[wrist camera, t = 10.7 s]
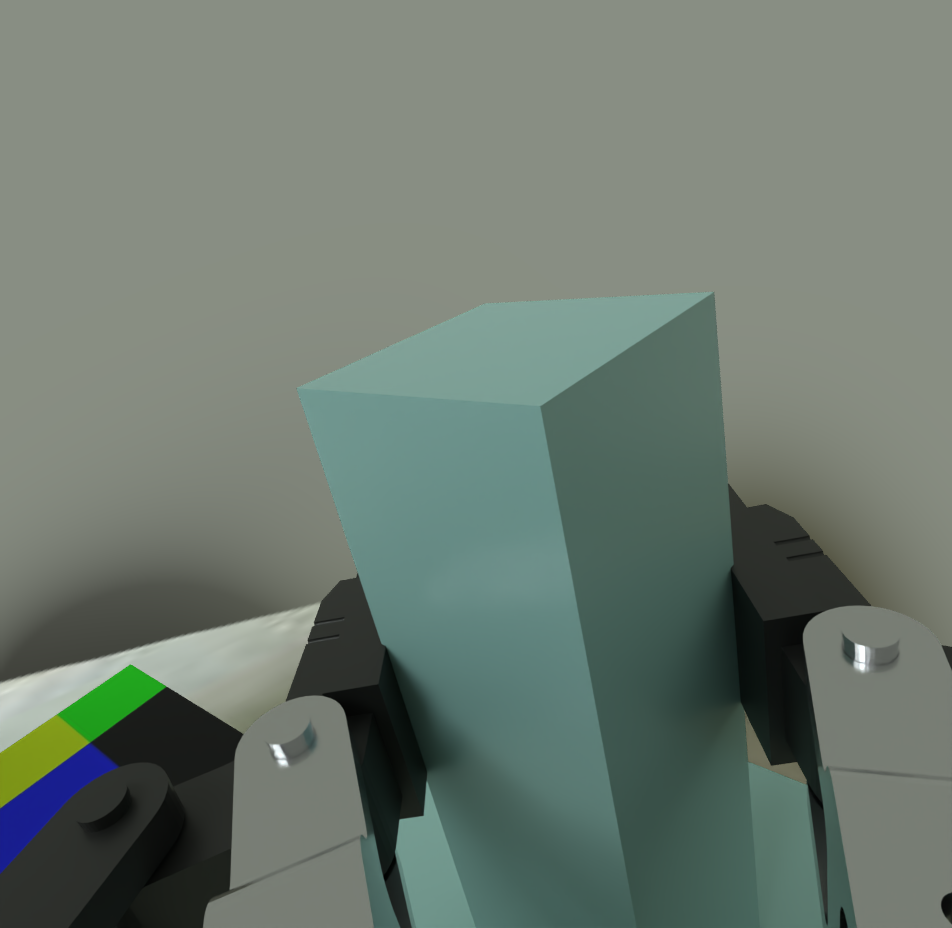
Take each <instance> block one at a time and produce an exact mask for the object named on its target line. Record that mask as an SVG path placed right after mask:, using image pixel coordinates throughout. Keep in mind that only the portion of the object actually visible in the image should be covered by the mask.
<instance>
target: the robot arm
mask: <svg viewBox="0 0 952 928" xmlns="http://www.w3.org/2000/svg"><path fill="white" fill-rule="evenodd" d="M728 491H729V505H730V519H731V533H732V547H733V561H734V565H733V566H732V567H731V578H732V591H733V605H734V618H735V632H736V645H737V659H738V672H739V686H740V699H741V704H742V706H743V708H744V710H745V712H746V714H747V716H748V718H749V721H750V723H751V725H752V727H753V729H754V731H755V733H756V735H757V737H758V739H759V741H760V743H761V745H762V747H763V749H764V752H765V754H766V756H767V758H768V760H769V762H770V764H771V766H772V765H779V764H786V763H792V762H798V764H799V766H800V768H801V770H802V772H803V774H804V776H805V777H806V779H807V806H808V814H809V822H810V830H811V838H812V846H813V854H814V862H815V870H816V878H817V885H818V893H819V901H820V909H821V917H822V925H823V928H952V647H948V646H943V645H941V644H940V642H939V640H938V639H937V637H936V636H935V635H934V634H933V633H932V631H930V630H929V629H928V628H927V627H925V626H924V625H923V624H921V623H919V622H918V621H916V620H915V619H913V618H910V617H908V616H906V615H904V614H901V613H898V612H895V611H892V610H888V609H884V608H879V607H872V606H871V605H870V604H869V603H868V601H867V600H866V599H865V598H864V597H863V596H862V595H861V594H860V592H859V591H858V590H857V589H856V588H855V587H854V586H853V584H852V583H851V582H850V581H849V580H848V579H847V578H846V577H845V575H844V574H843V573H842V572H841V571H840V570H839V569H838V567H837V566H836V565H835V564H834V563H833V562H832V561H831V560H830V558H828V556H827V555H824V554H823V551H822V549H821V548H820V547H819V546H818V545H817V544H816V543H815V542H814V541H813V540H810V537H809V535H808V534H807V532H806V531H805V530H804V529H803V528H802V527H801V526H800V524H799V523H798V522H797V521H796V520H795V519H794V518H793V517H791V516H789V515H787V514H785V513H783V512H781V511H779V510H777V509H775V508H773V507H771V506H769V505H767V504H764V505H759V506H753V507H748V508H747V507H746V506H745V504H744V503H743V502H742V500H741V499H740V498H739V497H738V495H737V494H736V493H735V491H734V490H733V489H732V488H731V486H730V485H729V484H728ZM314 625H315V626H313V627H312V629H311V632H310V635H309V638H308V644H306V646H305V649H304V652H303V654H302V657H301V660H300V663H299V666H298V668H297V671H296V674H295V677H294V680H293V682H292V685H291V688H290V691H289V694H288V696H287V699H286V702H284V703H282V704H280V705H278V706H276V707H274V708H272V709H271V710H269V711H268V712H266V713H265V714H263V715H262V716H261V717H260V718H258V719H257V720H256V721H255V722H254V723H253V724H252V725H251V726H250V727H249V728H248V729H247V731H246V732H245V733H244V735H243V736H242V738H241V740H240V742H239V743H238V746H237V749H236V753H235V760H234V761H232V762H230V763H228V764H226V765H224V766H222V767H219V768H217V769H215V770H212V771H210V772H207V773H205V774H202V775H200V776H198V777H195V778H193V779H190V780H188V781H186V782H183V783H181V784H178V785H176V786H174V787H173V786H172V784H171V782H170V780H169V778H168V776H167V774H166V773H165V771H164V770H163V769H162V768H161V767H160V766H158V765H156V764H152V763H133V764H128V765H125V766H121V767H119V768H116V769H113V770H111V771H109V772H107V773H105V774H103V775H101V776H99V777H98V778H96V779H94V780H93V781H91V782H90V783H88V784H87V785H85V786H84V787H83V788H81V789H80V790H79V791H78V792H77V793H75V794H74V795H73V796H72V797H71V798H70V799H69V800H68V801H67V802H66V803H65V804H64V805H63V806H62V807H61V808H60V809H59V810H58V811H57V812H56V814H55V815H54V816H53V817H52V818H51V819H50V820H49V821H48V822H47V823H46V825H45V826H44V827H43V828H42V829H41V830H40V831H39V832H38V833H37V834H36V835H35V837H34V838H33V839H32V840H31V841H30V842H29V843H28V844H27V845H26V846H25V847H24V849H23V850H22V851H21V852H20V853H19V854H18V855H17V856H16V857H15V858H14V859H13V861H12V862H11V863H10V864H9V865H8V866H7V867H6V868H5V869H4V870H3V872H2V873H1V874H0V928H416V925H415V921H414V916H413V912H412V908H411V903H410V899H409V895H408V890H407V886H406V881H405V877H404V873H403V868H402V864H401V861H400V858H399V855H398V852H397V850H396V844H397V836H398V828H399V820H400V819H406V818H413V817H420V816H424V807H425V795H426V783H427V770H426V767H425V763H424V760H423V757H422V754H421V751H420V748H419V745H418V742H417V739H416V736H415V733H414V730H413V727H412V724H411V721H410V718H409V715H408V712H407V709H406V706H405V703H404V700H403V697H402V694H401V691H400V688H399V685H398V682H397V679H396V676H395V673H394V670H393V666H392V663H391V660H390V657H389V654H388V651H387V648H386V646H385V645H383V644H381V641H380V638H379V635H378V632H377V629H376V626H375V623H374V620H373V617H372V614H371V611H370V608H369V605H368V602H367V599H366V596H365V593H364V590H363V587H362V584H361V581H360V578H359V575H358V574H357V577H356V578H353V579H348V580H342V581H340V582H339V583H338V584H337V585H336V586H335V587H334V588H333V589H332V590H331V592H330V593H329V594H328V595H327V596H326V597H325V598H324V599H323V600H322V602H321V604H320V607H319V610H318V613H317V615H316V618H315V621H314Z"/></svg>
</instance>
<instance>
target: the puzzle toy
mask: <svg viewBox="0 0 952 928" xmlns="http://www.w3.org/2000/svg"><path fill="white" fill-rule="evenodd" d="M243 735H244V734H242V733H241V732H239V731H238V730H236V729H234V728H233V727H231V726H229V725H228V724H226V723H225V722H223V721H221V720H220V719H218V718H217V717H215V716H213V715H212V714H210V713H208V712H207V711H205V710H204V709H202V708H200V707H199V706H197V705H196V704H194V703H192V702H191V701H189V700H187V699H186V698H184V697H183V696H181V695H179V694H178V693H176V692H175V691H173V690H171V689H170V688H168V687H166V686H165V685H163V684H162V683H160V682H158V681H157V680H155V679H154V678H152V677H150V676H149V675H147V674H145V673H144V672H142V671H141V670H139V669H137V668H136V667H134V666H133V665H129V666H128V667H126V668H125V669H123V670H122V671H120V672H119V673H117V674H116V675H114V676H113V677H111V678H110V679H108V680H107V681H105V682H104V683H103V684H101V685H100V686H98V687H97V688H95V689H94V690H92V691H91V692H89V693H88V694H86V695H85V696H83V697H82V698H80V699H79V700H78V701H76V702H75V703H73V704H72V705H70V706H69V707H67V708H66V709H64V710H63V711H61V712H60V713H58V714H57V715H55V716H54V717H53V718H51V719H50V720H48V721H47V722H45V723H44V724H42V725H41V726H39V727H38V728H36V729H35V730H33V731H32V732H30V733H29V734H27V735H26V736H25V737H23V738H22V739H20V740H19V741H17V742H16V743H14V744H13V745H11V746H10V747H8V748H7V749H5V750H4V751H2V752H1V753H0V874H1V873H2V872H3V870H4V869H5V868H6V867H7V866H8V865H9V864H10V863H11V862H12V861H13V859H14V858H15V857H16V856H17V855H18V854H19V853H20V852H21V851H22V850H23V849H24V847H25V846H26V845H27V844H28V843H29V842H30V841H31V840H32V839H33V838H34V837H35V835H36V834H37V833H38V832H39V831H40V830H41V829H42V828H43V827H44V826H45V825H46V823H47V822H48V821H49V820H50V819H51V818H52V817H53V816H54V815H55V814H56V812H57V811H58V810H59V809H60V808H61V807H62V806H63V805H64V804H65V803H66V802H67V801H68V800H69V799H70V798H71V797H72V796H73V795H74V794H75V793H77V792H78V791H79V790H80V789H81V788H83V787H84V786H85V785H87V784H88V783H90V782H91V781H93V780H94V779H96V778H98V777H99V776H101V775H103V774H105V773H107V772H109V771H111V770H113V769H116V768H119V767H121V766H125V765H128V764H133V763H152V764H156V765H158V766H160V767H161V768H162V769H163V770H164V771H165V773H166V774H167V776H168V778H169V780H170V782H171V784H172V786H173V787H174V786H176V785H178V784H181V783H183V782H186V781H188V780H190V779H193V778H195V777H198V776H200V775H202V774H205V773H207V772H210V771H212V770H215V769H217V768H219V767H222V766H224V765H226V764H228V763H230V762H232V761H234V760H235V753H236V749H237V746H238V743H239V742H240V740H241V738H242V736H243Z"/></svg>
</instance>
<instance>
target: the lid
mask: <svg viewBox="0 0 952 928" xmlns="http://www.w3.org/2000/svg"><path fill="white" fill-rule="evenodd" d="M297 391H298V394H299V397H300V400H301V403H302V406H303V409H304V412H305V415H306V418H307V421H308V424H309V427H310V430H311V433H312V436H313V439H314V442H315V445H316V448H317V451H318V454H319V457H320V461H321V464H322V466H323V470H324V472H325V476H326V479H327V481H328V485H329V488H330V490H331V493H332V497H333V500H334V503H335V505H336V508H337V511H338V515H339V518H340V521H341V523H342V527H343V529H344V532H345V535H346V539H347V542H348V545H349V548H350V550H351V554H352V557H353V560H354V563H355V566H356V569H357V572H358V575H359V578H360V581H361V584H362V587H363V590H364V593H365V596H366V599H367V602H368V605H369V608H370V611H371V614H372V617H373V620H374V623H375V626H376V629H377V632H378V635H379V638H380V641H381V644H383V645H385V646H386V648H387V651H388V654H389V657H390V660H391V663H392V666H393V670H394V673H395V676H396V679H397V682H398V685H399V688H400V691H401V694H402V697H403V700H404V703H405V706H406V709H407V712H408V715H409V718H410V721H411V724H412V727H413V730H414V733H415V736H416V739H417V742H418V745H419V748H420V751H421V754H422V757H423V760H424V763H425V767H426V770H427V783H426V795H425V807H424V816H420V817H413V818H406V819H400V820H399V828H398V836H397V844H396V850H397V852H398V855H399V858H400V861H401V864H402V868H403V873H404V877H405V881H406V886H407V890H408V895H409V899H410V903H411V908H412V912H413V916H414V921H415V925H416V928H823V925H822V917H821V909H820V901H819V893H818V885H817V878H816V870H815V862H814V854H813V846H812V838H811V830H810V822H809V814H808V806H807V785H806V784H803V783H801V782H798V781H795V780H793V779H790V778H788V777H785V776H783V775H780V774H778V773H775V772H773V771H770V770H768V769H765V768H763V767H760V766H758V765H755V764H753V763H750V762H748V755H747V741H746V727H745V714H744V708H743V706H742V704H741V699H740V686H739V672H738V659H737V645H736V632H735V618H734V605H733V591H732V578H731V567H732V566H733V565H734V561H733V547H732V533H731V519H730V505H729V491H728V477H727V463H726V450H725V436H724V423H723V408H722V394H721V381H720V367H719V353H718V339H717V325H716V311H715V298H714V292H703V293H682V294H665V295H664V294H663V295H643V296H624V297H605V298H585V299H566V300H546V301H526V302H509V303H508V302H507V303H488V304H483V305H481V306H479V307H477V308H474V309H472V310H470V311H467V312H465V313H463V314H461V315H459V316H456V317H455V318H452V319H450V320H447V321H445V322H443V323H441V324H439V325H436V326H434V327H432V328H430V329H427V330H425V331H423V332H421V333H419V334H416V335H414V336H412V337H409V338H408V339H405V340H403V341H401V342H398V343H396V344H394V345H392V346H389V347H387V348H385V349H383V350H380V351H378V352H376V353H374V354H372V355H369V356H367V357H365V358H363V359H360V360H358V361H356V362H354V363H352V364H349V365H347V366H345V367H343V368H340V369H338V370H336V371H334V372H331V373H330V374H327V375H325V376H322V377H320V378H318V379H316V380H314V381H311V382H309V383H307V384H305V385H302V386H300V387H298V388H297Z"/></svg>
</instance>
